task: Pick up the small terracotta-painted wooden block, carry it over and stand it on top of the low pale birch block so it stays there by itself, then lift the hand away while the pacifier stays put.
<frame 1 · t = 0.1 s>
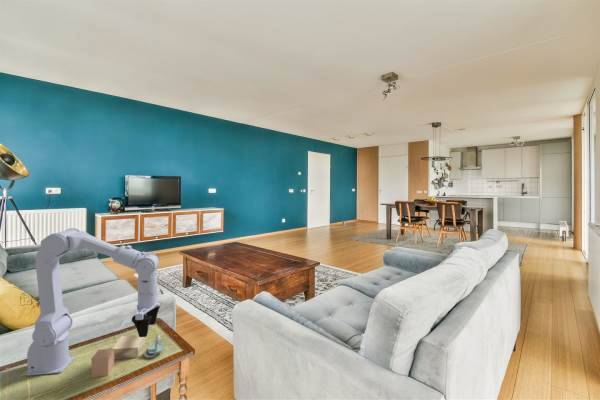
hand: (147, 330, 96), 10 cm above the table, tool pointing down, fingers open, 7 cm apart
birch block: (129, 351, 100), on the table
pacifier: (153, 353, 100), on the table
terracotta block: (103, 371, 89), on the table
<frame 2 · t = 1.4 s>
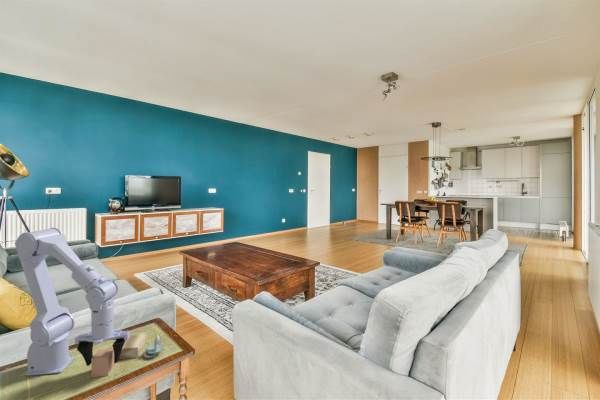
hand: (103, 362, 89), 3 cm above the table, tool pointing down, fingers open, 7 cm apart
nothing on the table moved.
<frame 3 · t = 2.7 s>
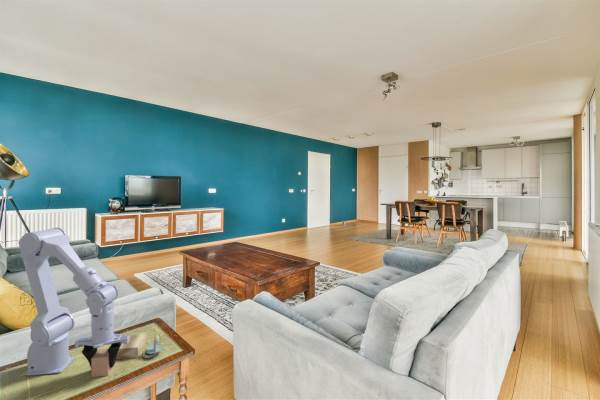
hand: (103, 366, 89), 2 cm above the table, tool pointing down, fingers closed on terracotta block, 4 cm apart
terracotta block: (103, 371, 89), on the table, touching gripper
everything else where it was.
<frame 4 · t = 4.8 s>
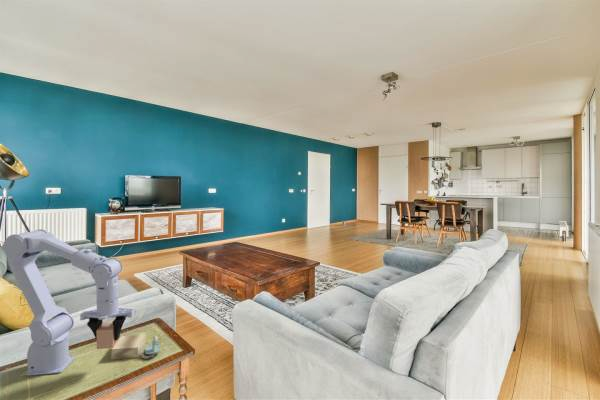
hand: (108, 339, 91), 9 cm above the table, tool pointing down, fingers closed on terracotta block, 4 cm apart
terracotta block: (108, 344, 91), point 8 cm above the table, touching gripper
everything else where it was.
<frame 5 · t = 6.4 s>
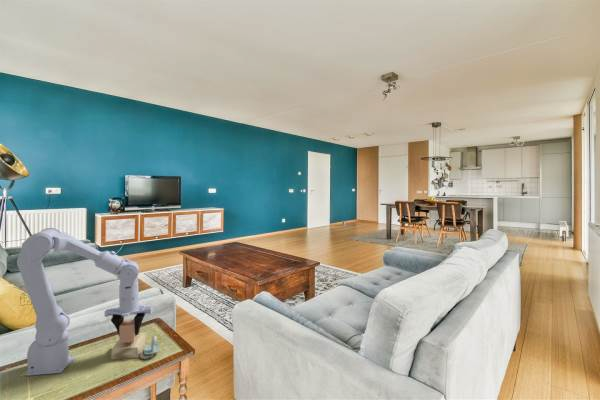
hand: (129, 334, 100), 6 cm above the table, tool pointing down, fingers closed on terracotta block, 4 cm apart
terracotta block: (129, 338, 100), point 5 cm above the table, touching gripper
when the fingers open (6 cm above the table, at t = 7.3 s): terracotta block drops 1 cm, resting on birch block.
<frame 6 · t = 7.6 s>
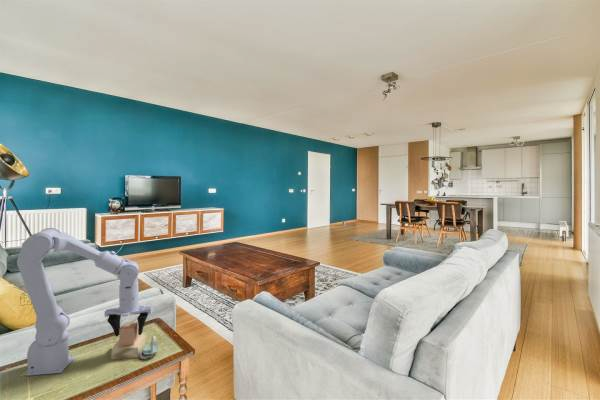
hand: (129, 334, 100), 6 cm above the table, tool pointing down, fingers open, 7 cm apart
terracotta block: (129, 341, 100), point 3 cm above the table, touching birch block
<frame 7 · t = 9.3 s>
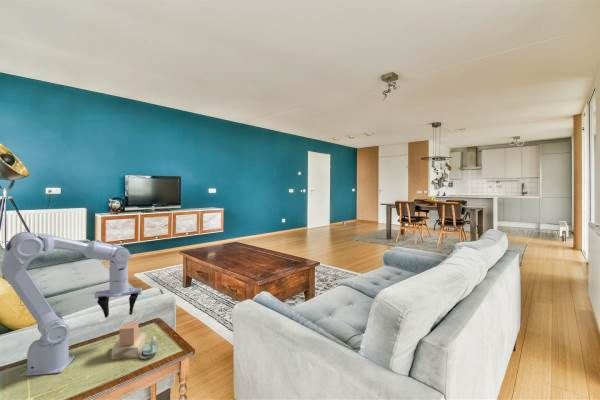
hand: (119, 314, 104), 10 cm above the table, tool pointing down, fingers open, 7 cm apart
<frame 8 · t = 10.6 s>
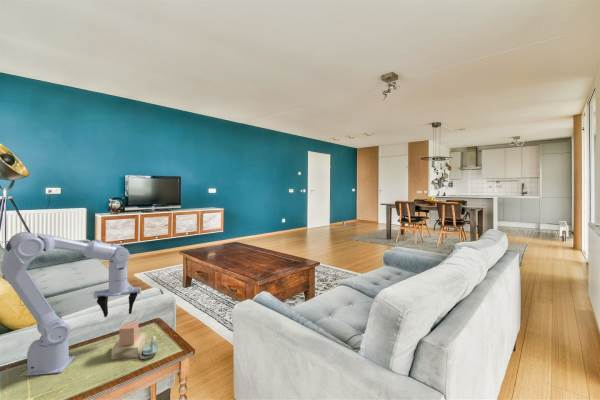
hand: (118, 314, 105), 10 cm above the table, tool pointing down, fingers open, 7 cm apart
at the end: terracotta block 0.0 cm off-centre on the birch block, point 3.5 cm above the birch block's base; terracotta block touching birch block; the gripper is holding nothing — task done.
